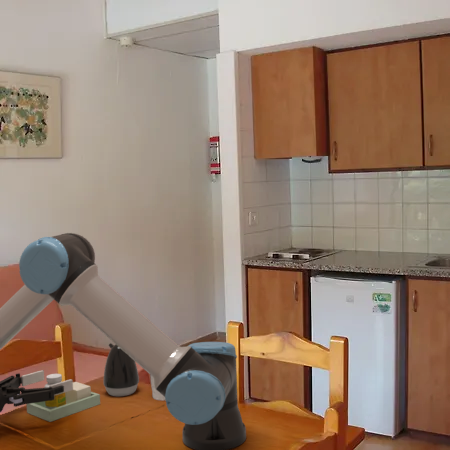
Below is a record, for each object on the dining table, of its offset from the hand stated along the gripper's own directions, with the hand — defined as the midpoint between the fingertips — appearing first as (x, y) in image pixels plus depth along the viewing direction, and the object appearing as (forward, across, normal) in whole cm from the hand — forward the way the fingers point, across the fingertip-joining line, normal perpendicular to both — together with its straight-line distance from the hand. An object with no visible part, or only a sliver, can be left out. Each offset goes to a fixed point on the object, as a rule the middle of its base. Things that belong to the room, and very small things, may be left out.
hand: (57, 379), depth 171 cm
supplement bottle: (-1, 0, -8) cm, 9 cm away
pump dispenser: (+19, +3, -9) cm, 22 cm away
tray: (+1, 0, -9) cm, 9 cm away
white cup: (+24, +16, -9) cm, 30 cm away
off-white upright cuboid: (+6, 0, -8) cm, 10 cm away
